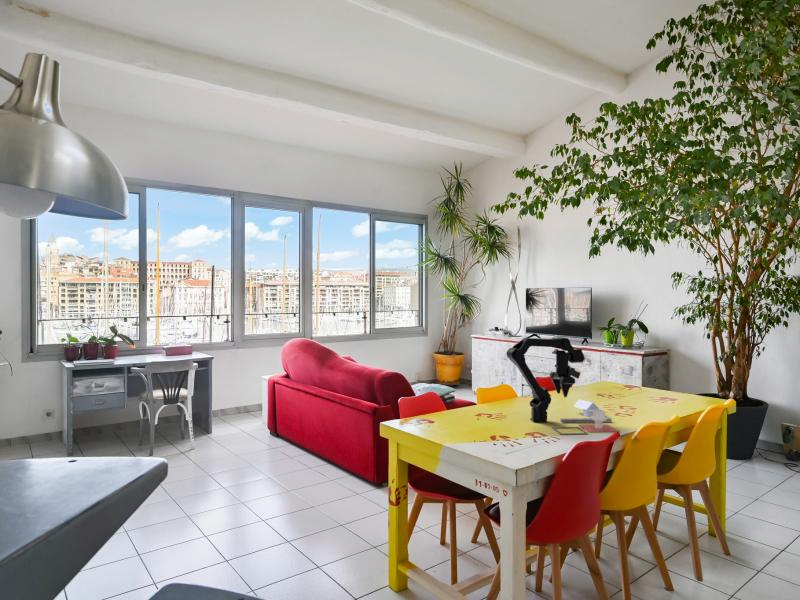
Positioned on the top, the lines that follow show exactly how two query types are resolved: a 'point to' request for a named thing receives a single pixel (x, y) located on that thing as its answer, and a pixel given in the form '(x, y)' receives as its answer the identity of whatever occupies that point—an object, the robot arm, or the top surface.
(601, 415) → the pipe fitting
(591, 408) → the wedge on round base
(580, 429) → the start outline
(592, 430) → the pad
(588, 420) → the rail
